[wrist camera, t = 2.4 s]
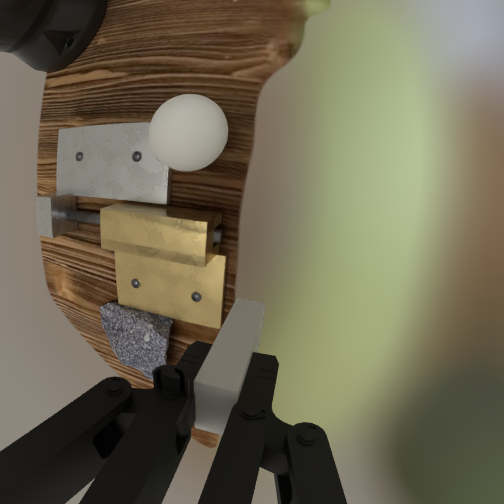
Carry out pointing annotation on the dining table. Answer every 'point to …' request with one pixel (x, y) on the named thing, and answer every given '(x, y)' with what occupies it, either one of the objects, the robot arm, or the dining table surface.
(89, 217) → the zinc leaf
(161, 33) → the dining table surface
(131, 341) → the rock
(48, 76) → the dining table surface
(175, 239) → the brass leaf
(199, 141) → the lightbulb
